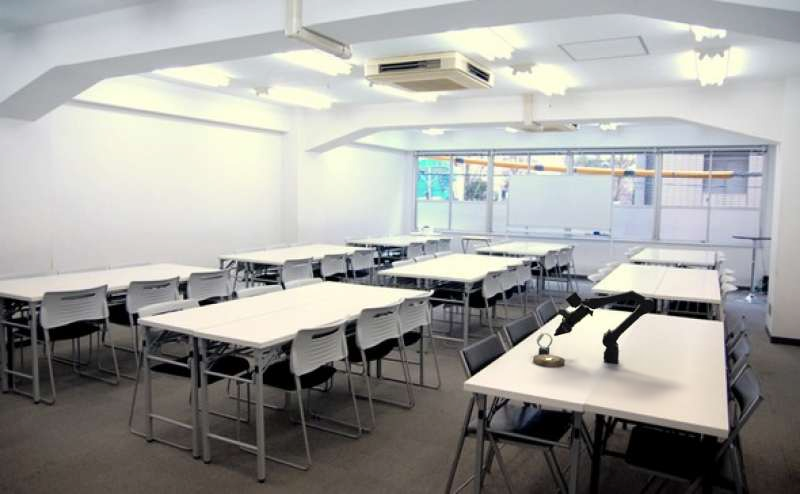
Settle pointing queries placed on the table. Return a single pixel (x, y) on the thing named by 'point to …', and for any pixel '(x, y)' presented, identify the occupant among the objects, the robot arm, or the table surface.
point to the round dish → (549, 360)
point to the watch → (543, 349)
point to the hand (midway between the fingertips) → (554, 333)
